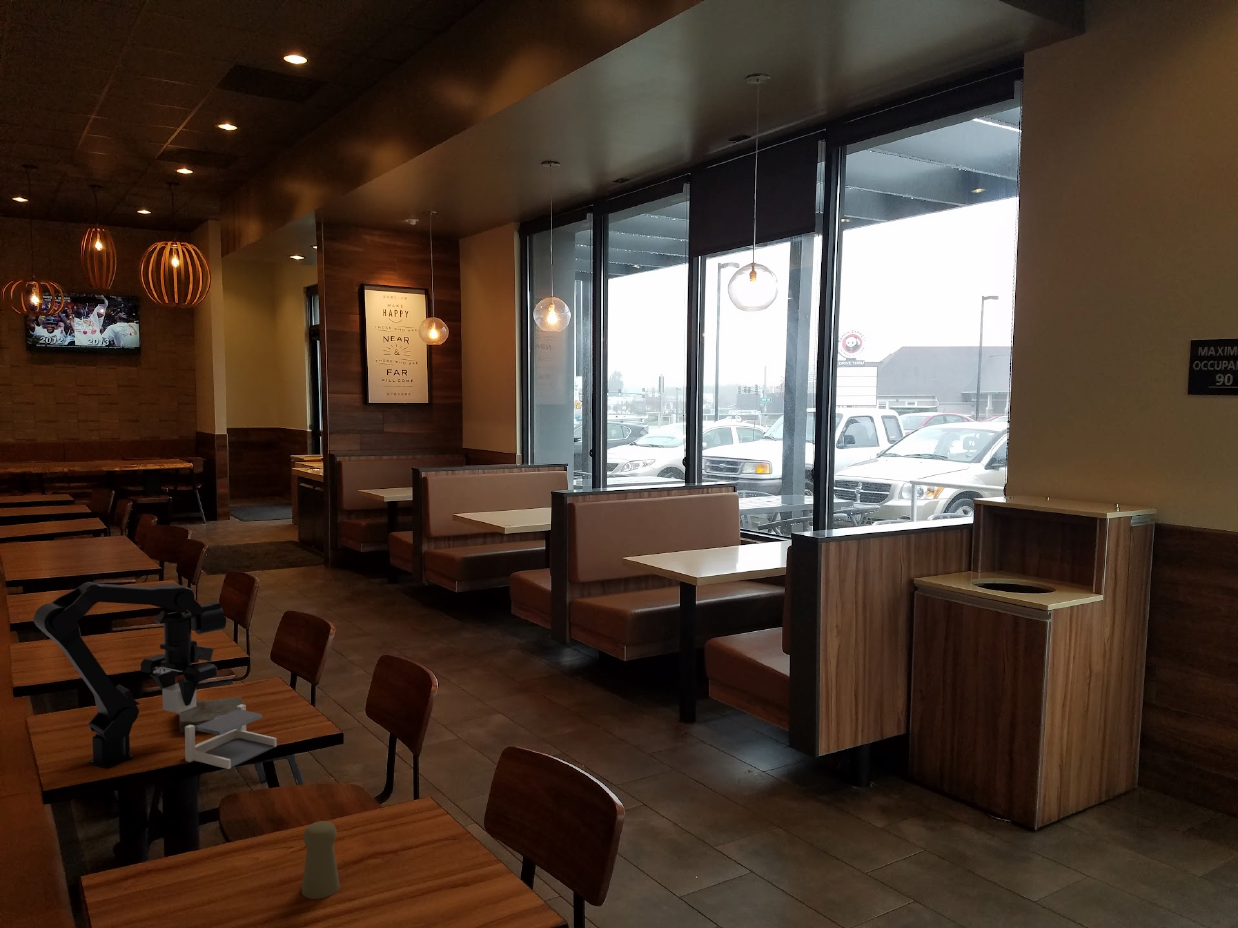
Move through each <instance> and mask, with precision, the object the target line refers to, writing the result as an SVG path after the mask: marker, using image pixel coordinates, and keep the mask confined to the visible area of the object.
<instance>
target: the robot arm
mask: <svg viewBox="0 0 1238 928" xmlns="http://www.w3.org/2000/svg"><path fill="white" fill-rule="evenodd" d="M98 603H107V604H108V603H110V604H111V603H112V604H128V605H132V604H133V605H147V606H154V607H158V608H162V609H166V610H168V611H169V610H170V611H173V612H169V613H167V611H163V610H161V611H160V612H159V614H157V615H156V616H155V617H154V618H153V622H155V623H158V624H160V625H162V624H163V643H160V644H159V649H161V650H164V654H162V653H159V654H155V655H153V656H152V655H151V656H149V657H146V658H143V659H142V661H141V663H140V672H143V673H148V674H149V673H150V676H149V677H152V679H153V680H154V681H155V682H156V684H157V685H158V687H159V689H160V690H161V691H162V689H163V688H166V687H169V686H172V685H175V684H176V677H177V676H178V674H179V673H182V674H183V675H184V676H183V677H184V678H181V679H179V680H177V684H179V687H180V691H181V694H182V698H183V701H184V704H185V706H188V705H190V704H191V701H192V698H193V695H194V692H195V690H196V691H197V687H198V685H199V683H200V682H203V681H206V680H209V679H211V678H214V677H217V676H218V666H216V665H215V664H214V663H209V662H211V661H212V658H213V656H214V655H213V654H214V651H215V648H214V647H207V646H202V645H198V643H197V641H196V640H193V639H192V638H193V637H192V631H193V632H195V634H197V635H203V634H207V633H212V632H217V631H222V630H223V631H224V629H225V628H226V625H227V616H226V614H225V611H224V609H223V608H222V603H221V602H218V601H214V602H210V603H208V604H200V603H199V602H198V601H197V600H196V599H195V593H194V592H193V590H192V589H191V588H190V587H187V586H184V585H181V584H177V583H174V582H173V583H164V584H157V585H153V586H139V585H137V586H136V585H124V584H113V583H112V584H111V583H96V582H93V581H86V582H83V583H82V584H80V585H79V586H78V587H76V588H75V589H73V590H71V591H68V592H67V593H65V594H63V595H61V596H59V597H57V598H56V599H55V600H53V601H52V602H49V603H45V604H42V605H41V606H39V607H38V608H37V609H36V611H35V613H34V615H33V618H32V619H33V623H34V625H35V626H36V627H37V628H38V629H39V630H41V632H42V633H43V634H45V635H46V637H48V638H49V639H50V640H51V641H53V642H54V643H55V644H57V645H58V646H59V647H60V649H61V650H62V652H63V653H64V654H65V655H66V657H67V659H68V660H69V662H70V663H71V664H72V666H73V667H74V669H75V670H76V672H77V673H78V674H79V675H80V677H81V678H82V680H83V681H84V683H85V684H86V686H87V687H88V689H89V690H90V691H91V692H92V694H93V696H94V703H95V706H96V709H97V710H98V712H97V713H96V714H95V715H94V716H93V718H91V720H90V721H89V722H88V724H87V725H88V727H89V729H90V732H92V733H94V734H95V735H93V736H92V738H91V739H92V743H91V744H92V758H91V759H88V761H87V763H88V764H90V765H94V766H98V767H100V768H101V767H102V768H106V769H108V768H111V767H114V766H116V765H119V764H121V763H124V762H126V761H129V760H131V759H134V755H133V754H130V752H131V743H130V742H131V740H130V739H131V738H130V733H131V732H132V731H131V730H132V728H133V725H134V723H136V721H137V719H138V716H139V714H140V710H139V707H138V706H139V705H140V703H139V702H138V701H136V700H135V699H134V696H133V693H132V691H131V689H128V688H126V687H125V686H123V685H121V684H118V685H116V686H115V684H114V683H113V682H112V680H111V679H110V677H109V676H108V674H107V673H106V671H105V670H104V668H103V667H102V666H101V663H99V661H98V660H97V658H96V657H95V656H94V654H93V653H92V651H91V650H90V649H89V647H88V645H87V644H86V643H85V641H84V640H83V638H82V635H81V628H80V625H79V623H78V621H80V620H81V619H82V618H83V617H85V615H86V614H87V613H89V611H90V610H91V609H92V608H93V607H94V606H95V605H96V604H98ZM184 612H188V613H184ZM200 660H201V661H206V662H200ZM192 664H194V665H192ZM151 672H152V673H151Z"/></svg>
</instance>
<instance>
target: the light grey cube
mask: <svg viewBox="0 0 1238 928" xmlns="http://www.w3.org/2000/svg"><path fill="white" fill-rule="evenodd" d="M161 691H162V710H164V711H166V712H167V711H168V712H171V713H176V714H179V713H180V712H183V711H185V710H188V709H191V708H193V707H196V700H197V689H196V690H195V692H194V695H193V698H192V701H191V704H190V705H188V706H185V704H184V701H183V698H182V694H181V691H180V687H179V684H178V683H175V685H172V686H169V687H166V688H163V689H162V690H161Z"/></svg>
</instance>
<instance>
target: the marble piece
mask: <svg viewBox="0 0 1238 928" xmlns="http://www.w3.org/2000/svg"><path fill="white" fill-rule="evenodd" d="M241 704H243V699H242V698H241V696H237V697H233V698H232V697H227V698H226V697H225V698H223V699H212V700H211V699H210V700H203V699H196V707H193V708H191V709H188V710H185V711H183V712H180V713H178V715H177V716H178V717H177V718H179V723H178V725H179V731H180V733H181V734H183V733H185V727H186V726H188V725H194V726H196V725H199V724H201V723H203V722H206V721H208V720H211V719H213V718H216V717H218V716H221V715H223V714H226V713H228V712H231V711H233V710H236V709H237V706H238V705H241ZM197 732H201V731H198V730H195V733H197Z"/></svg>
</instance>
